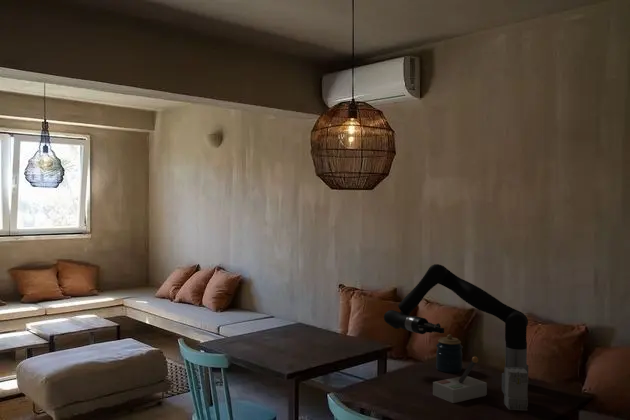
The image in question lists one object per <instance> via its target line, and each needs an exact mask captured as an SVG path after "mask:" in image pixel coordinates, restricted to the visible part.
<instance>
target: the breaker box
mask: <svg viewBox="0 0 630 420" xmlns="http://www.w3.org/2000/svg"><path fill="white" fill-rule="evenodd" d="M460 378H461V376H458V377H453V378H447V379H442V380H437V381H432V395H433V396H434V397H437V398H439V399H442V400H443V401H444V400H445V401H447V402H449V403H452V404H456V403H460V402H464V401H469V400H473V399H477V398H482V397H486V395H487V394H488V393H487V392H488V390H487V388H488V383H487V382H485V381H483V380H479V379H477V378H475V377H471V376H468V375H467V377H466V378H465V380H464V381H463V383H460V382H459V379H460Z"/></svg>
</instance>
